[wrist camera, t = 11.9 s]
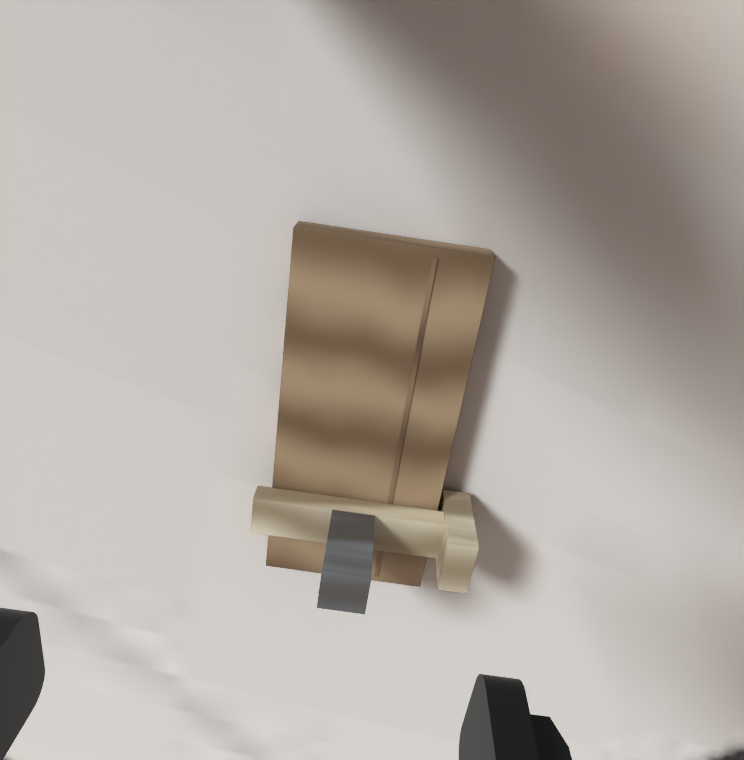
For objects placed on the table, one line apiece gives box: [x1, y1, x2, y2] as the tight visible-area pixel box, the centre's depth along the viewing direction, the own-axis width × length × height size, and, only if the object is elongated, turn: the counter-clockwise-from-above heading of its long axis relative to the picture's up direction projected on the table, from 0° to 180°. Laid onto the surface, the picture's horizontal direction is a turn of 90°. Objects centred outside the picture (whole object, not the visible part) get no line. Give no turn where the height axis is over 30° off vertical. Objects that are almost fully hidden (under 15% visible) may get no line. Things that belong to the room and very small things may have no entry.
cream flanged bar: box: [251, 486, 479, 614], centre depth 41 cm, size 4×15×10 cm, turn 82°
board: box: [266, 221, 495, 587], centre depth 42 cm, size 26×12×2 cm, turn 172°
